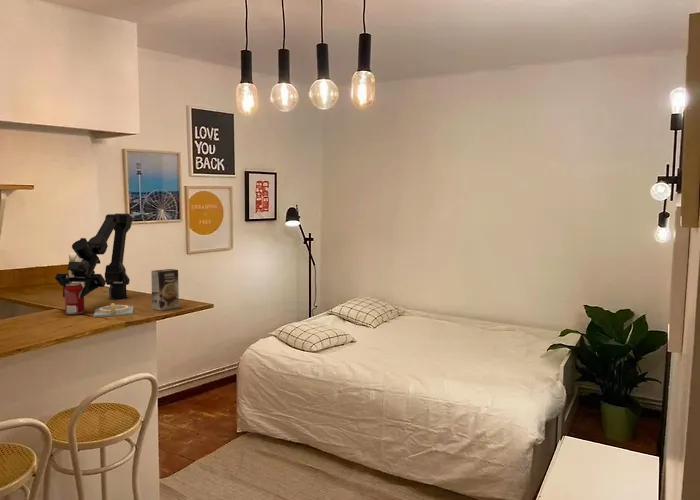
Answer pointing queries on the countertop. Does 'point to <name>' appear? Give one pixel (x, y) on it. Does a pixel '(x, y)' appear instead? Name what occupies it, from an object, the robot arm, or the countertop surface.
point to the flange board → (113, 311)
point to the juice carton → (74, 258)
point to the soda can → (74, 299)
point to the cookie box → (165, 289)
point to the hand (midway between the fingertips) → (72, 297)
